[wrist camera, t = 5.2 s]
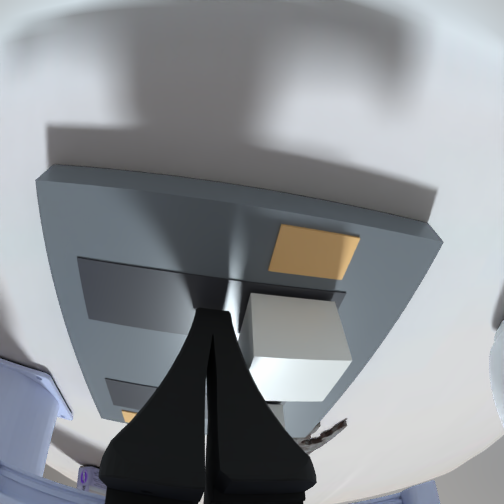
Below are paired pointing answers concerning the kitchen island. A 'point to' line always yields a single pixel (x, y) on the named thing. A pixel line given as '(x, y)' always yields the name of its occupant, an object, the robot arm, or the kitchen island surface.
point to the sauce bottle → (498, 371)
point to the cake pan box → (90, 480)
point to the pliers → (317, 443)
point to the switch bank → (212, 272)
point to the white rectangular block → (293, 347)
